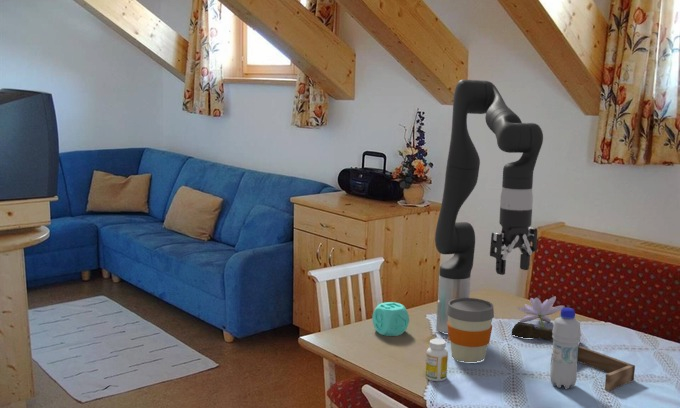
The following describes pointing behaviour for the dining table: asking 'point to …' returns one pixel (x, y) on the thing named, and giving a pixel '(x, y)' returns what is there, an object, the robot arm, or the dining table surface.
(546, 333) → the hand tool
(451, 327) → the reusable coffee cup
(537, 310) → the water lily
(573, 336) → the bottle
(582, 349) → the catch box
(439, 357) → the supplement bottle
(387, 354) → the dining table surface
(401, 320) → the decorative dice
